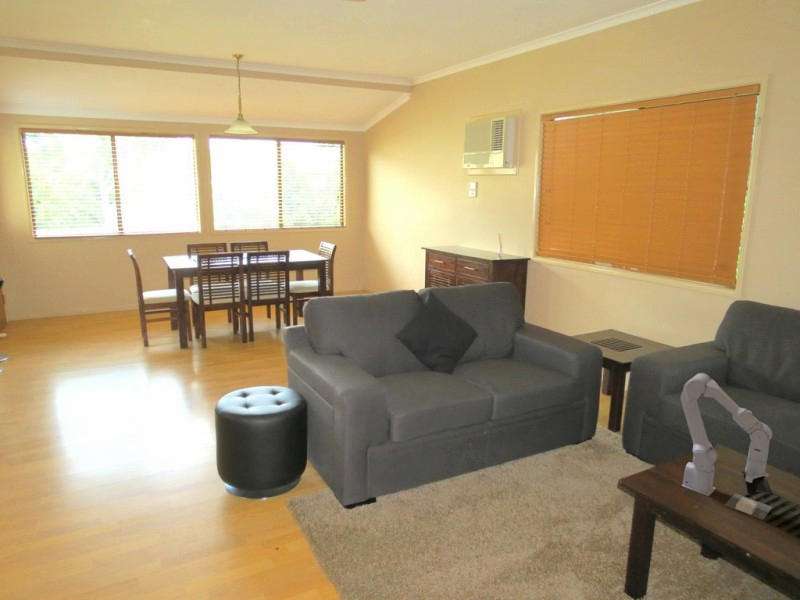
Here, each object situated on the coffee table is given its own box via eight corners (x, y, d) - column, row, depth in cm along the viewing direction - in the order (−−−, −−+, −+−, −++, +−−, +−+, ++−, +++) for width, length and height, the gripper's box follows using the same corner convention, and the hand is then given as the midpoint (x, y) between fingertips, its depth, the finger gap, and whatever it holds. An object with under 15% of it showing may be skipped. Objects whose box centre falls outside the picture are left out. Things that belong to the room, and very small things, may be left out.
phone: (748, 488, 211) (741, 470, 224) (747, 491, 211) (740, 473, 224) (772, 493, 208) (764, 475, 221) (772, 496, 208) (763, 477, 221)
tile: (741, 502, 202) (735, 509, 197) (742, 497, 202) (736, 504, 197) (757, 507, 199) (751, 515, 194) (758, 502, 198) (752, 510, 193)
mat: (724, 506, 200) (724, 505, 200) (735, 494, 208) (735, 493, 208) (762, 520, 191) (762, 519, 191) (772, 507, 200) (772, 506, 200)
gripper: (764, 469, 189) (758, 505, 192) (775, 456, 199) (769, 490, 202) (741, 461, 194) (735, 497, 197) (753, 449, 204) (747, 483, 207)
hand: (751, 493), depth 200 cm, fingers closed
